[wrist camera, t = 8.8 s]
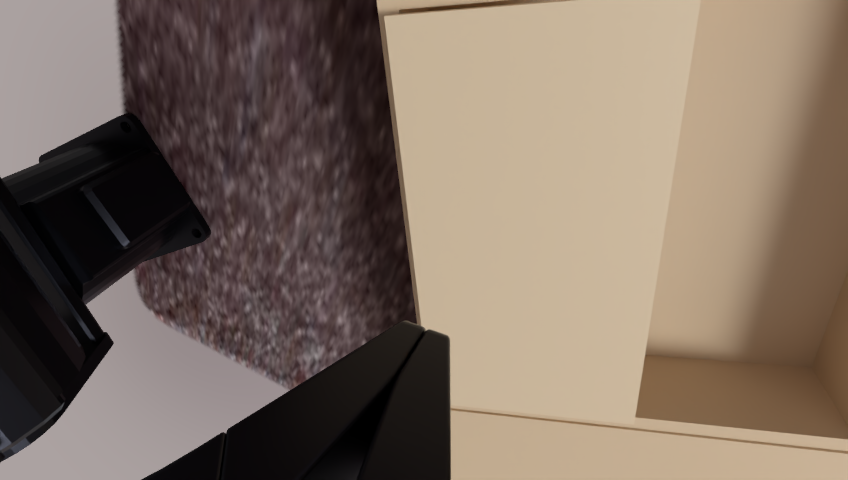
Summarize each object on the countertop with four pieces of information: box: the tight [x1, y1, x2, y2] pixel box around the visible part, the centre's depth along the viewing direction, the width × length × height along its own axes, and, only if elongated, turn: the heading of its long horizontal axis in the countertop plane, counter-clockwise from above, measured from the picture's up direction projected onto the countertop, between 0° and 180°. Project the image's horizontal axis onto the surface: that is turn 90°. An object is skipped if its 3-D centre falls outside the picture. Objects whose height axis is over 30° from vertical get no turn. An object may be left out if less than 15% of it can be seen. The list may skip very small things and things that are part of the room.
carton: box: [377, 0, 848, 480], centre depth 17 cm, size 16×28×4 cm, turn 5°
